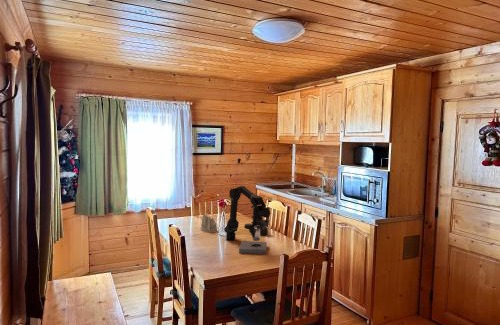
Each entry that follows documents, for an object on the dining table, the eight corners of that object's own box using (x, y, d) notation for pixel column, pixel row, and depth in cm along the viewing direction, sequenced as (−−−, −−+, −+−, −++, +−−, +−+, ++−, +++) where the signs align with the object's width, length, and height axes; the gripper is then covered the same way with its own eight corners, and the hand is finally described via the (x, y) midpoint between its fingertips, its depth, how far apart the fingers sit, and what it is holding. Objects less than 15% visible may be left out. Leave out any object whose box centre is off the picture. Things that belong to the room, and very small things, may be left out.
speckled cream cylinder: (251, 239, 242) (251, 228, 242) (256, 238, 246) (256, 227, 245) (256, 241, 239) (256, 229, 238) (261, 240, 242) (261, 228, 242)
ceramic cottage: (210, 233, 280) (211, 214, 280) (196, 230, 291) (197, 212, 291) (223, 230, 292) (224, 212, 292) (210, 227, 303) (210, 210, 303)
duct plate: (238, 253, 235) (239, 248, 234) (241, 244, 253) (241, 240, 252) (265, 254, 233) (265, 250, 233) (266, 246, 251) (266, 242, 251)
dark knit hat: (266, 227, 274) (269, 219, 289) (247, 227, 278) (251, 219, 292) (266, 238, 277) (269, 230, 291) (248, 238, 280) (252, 230, 294)
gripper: (255, 219, 229) (255, 242, 230) (274, 215, 242) (273, 237, 243) (244, 216, 237) (243, 238, 238) (263, 212, 250) (262, 233, 251)
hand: (256, 237), depth 242 cm, fingers closed on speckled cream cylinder, 5 cm apart
